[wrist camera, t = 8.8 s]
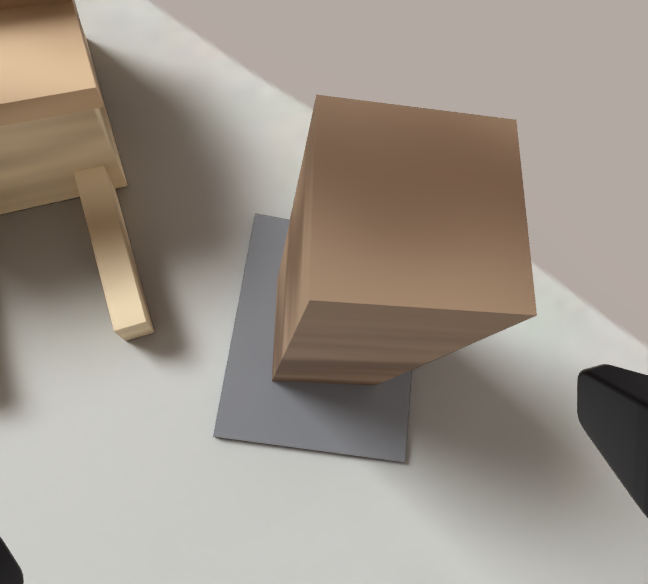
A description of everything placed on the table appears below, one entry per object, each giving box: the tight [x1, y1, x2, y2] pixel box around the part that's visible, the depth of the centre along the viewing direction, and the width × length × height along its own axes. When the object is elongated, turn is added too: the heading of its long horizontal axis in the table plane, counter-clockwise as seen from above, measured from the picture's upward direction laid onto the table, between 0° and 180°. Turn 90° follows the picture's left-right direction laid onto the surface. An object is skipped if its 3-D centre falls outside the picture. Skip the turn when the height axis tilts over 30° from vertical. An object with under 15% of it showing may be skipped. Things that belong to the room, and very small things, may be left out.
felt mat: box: [213, 214, 412, 462], centre depth 22 cm, size 10×8×1 cm
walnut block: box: [272, 95, 537, 386], centre depth 16 cm, size 4×4×12 cm
